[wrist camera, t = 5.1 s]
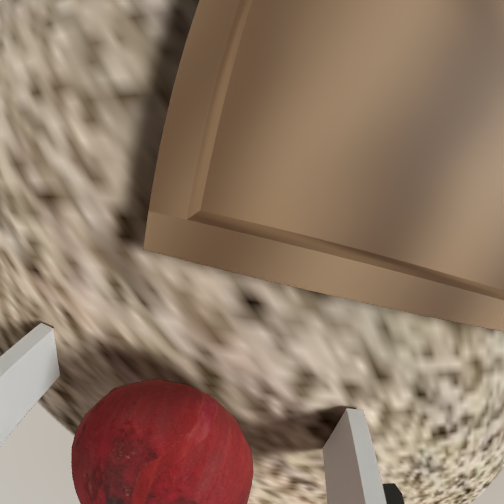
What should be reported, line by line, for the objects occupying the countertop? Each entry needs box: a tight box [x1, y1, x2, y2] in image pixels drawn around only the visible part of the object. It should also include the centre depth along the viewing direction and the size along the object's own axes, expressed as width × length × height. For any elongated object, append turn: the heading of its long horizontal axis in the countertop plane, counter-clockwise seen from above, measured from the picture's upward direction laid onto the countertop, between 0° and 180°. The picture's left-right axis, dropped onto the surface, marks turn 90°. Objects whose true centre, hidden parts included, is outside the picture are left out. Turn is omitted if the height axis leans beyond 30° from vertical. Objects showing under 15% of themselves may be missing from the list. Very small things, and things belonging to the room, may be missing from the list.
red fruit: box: [72, 379, 253, 504], centre depth 8 cm, size 6×6×8 cm
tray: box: [143, 0, 504, 331], centre depth 6 cm, size 15×15×2 cm
